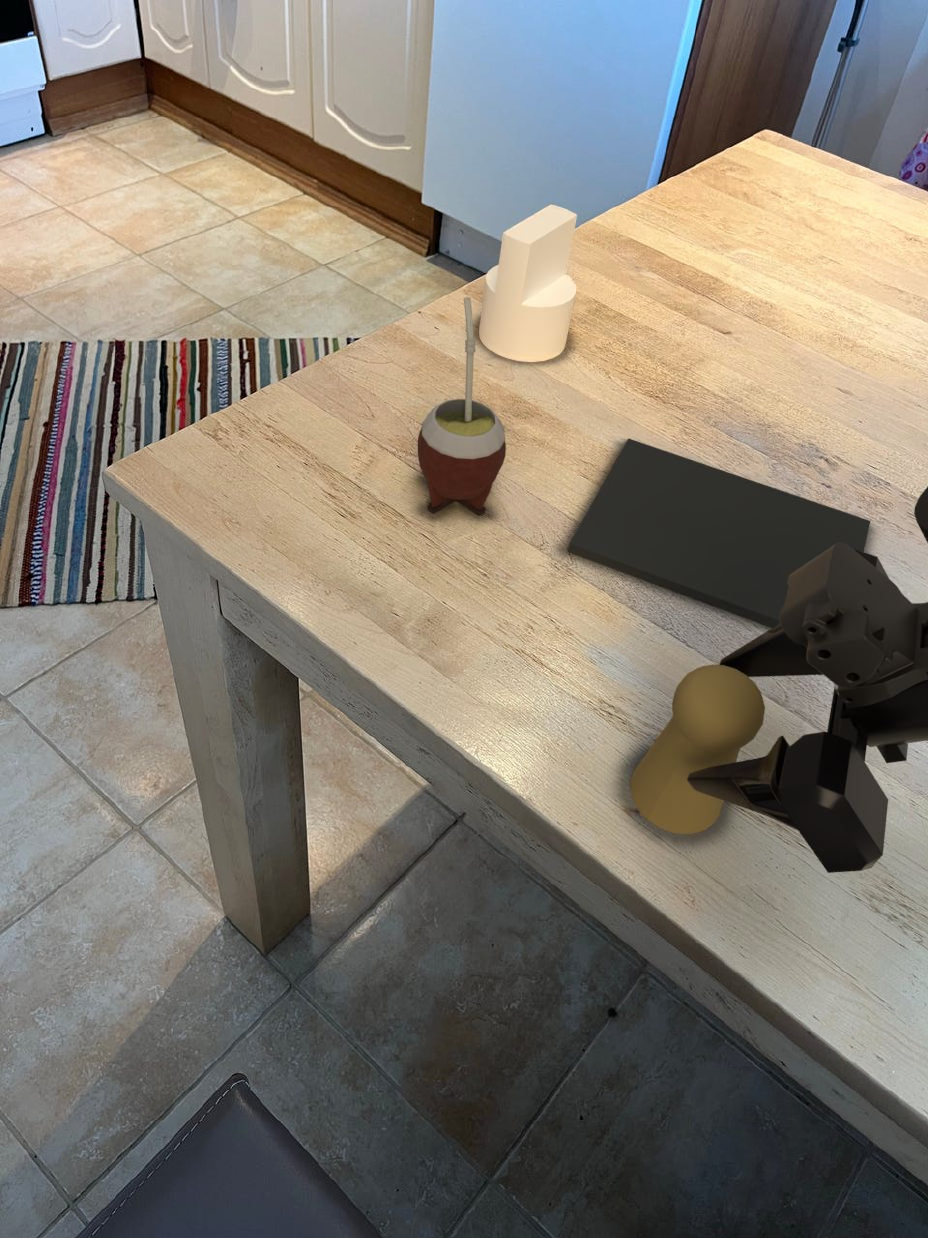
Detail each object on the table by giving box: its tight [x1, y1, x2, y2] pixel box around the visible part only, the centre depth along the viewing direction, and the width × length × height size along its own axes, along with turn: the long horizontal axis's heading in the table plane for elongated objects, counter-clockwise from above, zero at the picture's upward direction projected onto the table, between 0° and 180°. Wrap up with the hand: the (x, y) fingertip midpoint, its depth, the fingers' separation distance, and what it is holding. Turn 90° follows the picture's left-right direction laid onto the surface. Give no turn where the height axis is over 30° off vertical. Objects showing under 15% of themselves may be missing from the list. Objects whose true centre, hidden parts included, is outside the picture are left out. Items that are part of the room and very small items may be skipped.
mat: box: [567, 438, 871, 629], centre depth 79 cm, size 22×16×1 cm
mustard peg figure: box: [629, 664, 766, 835], centre depth 58 cm, size 6×6×11 cm
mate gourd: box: [417, 296, 507, 517], centre depth 74 cm, size 8×8×15 cm
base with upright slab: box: [478, 204, 578, 363], centre depth 93 cm, size 9×9×12 cm
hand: (707, 722), depth 56 cm, fingers open, 9 cm apart
